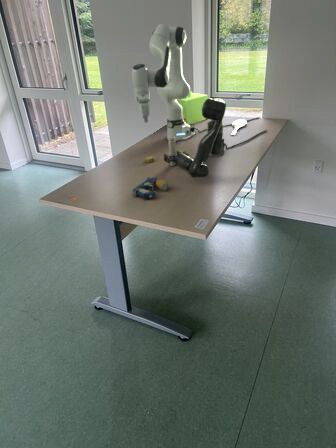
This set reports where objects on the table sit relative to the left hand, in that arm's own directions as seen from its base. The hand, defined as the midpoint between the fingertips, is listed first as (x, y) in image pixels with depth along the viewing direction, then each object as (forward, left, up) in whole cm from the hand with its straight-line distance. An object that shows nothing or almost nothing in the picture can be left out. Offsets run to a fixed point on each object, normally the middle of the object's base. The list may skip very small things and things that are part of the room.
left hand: (145, 120), depth 198 cm
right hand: (-4, +15, -19) cm, 25 cm away
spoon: (-84, +10, -25) cm, 89 cm away
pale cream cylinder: (-3, +17, -25) cm, 31 cm away
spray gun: (+31, +32, -25) cm, 51 cm away
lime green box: (-88, -40, -25) cm, 100 cm away
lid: (0, 0, -24) cm, 24 cm away
